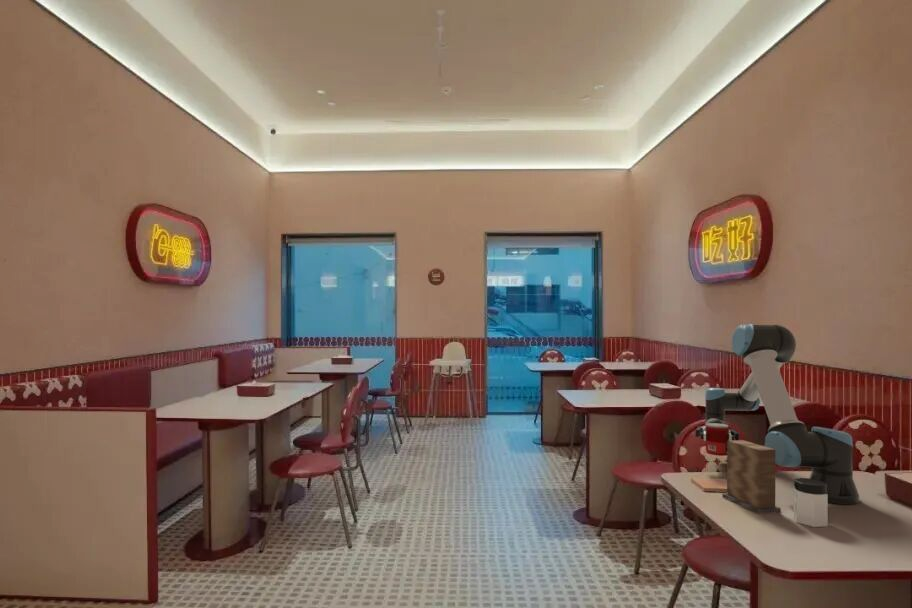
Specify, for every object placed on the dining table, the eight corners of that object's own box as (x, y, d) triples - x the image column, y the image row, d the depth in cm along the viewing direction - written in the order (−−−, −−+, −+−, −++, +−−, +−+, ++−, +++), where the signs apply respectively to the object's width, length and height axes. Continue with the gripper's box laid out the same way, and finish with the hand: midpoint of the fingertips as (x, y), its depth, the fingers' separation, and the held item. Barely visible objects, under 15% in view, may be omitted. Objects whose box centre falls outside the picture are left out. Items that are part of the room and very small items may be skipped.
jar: (791, 515, 172) (791, 476, 172) (822, 519, 169) (822, 479, 169) (797, 525, 163) (797, 483, 164) (830, 529, 160) (830, 487, 161)
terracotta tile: (724, 482, 206) (724, 479, 206) (738, 492, 194) (738, 489, 194) (691, 481, 206) (691, 478, 206) (703, 491, 194) (703, 487, 194)
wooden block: (722, 497, 188) (722, 440, 189) (742, 495, 190) (742, 439, 191) (759, 513, 173) (759, 451, 173) (780, 511, 175) (780, 450, 175)
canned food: (731, 456, 209) (731, 426, 209) (708, 455, 210) (708, 425, 211) (725, 451, 216) (725, 423, 217) (703, 450, 218) (703, 422, 218)
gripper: (744, 440, 226) (748, 451, 205) (688, 435, 234) (687, 445, 213) (744, 421, 226) (748, 431, 205) (688, 417, 234) (687, 426, 213)
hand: (717, 438), depth 209 cm, fingers closed on canned food, 8 cm apart
